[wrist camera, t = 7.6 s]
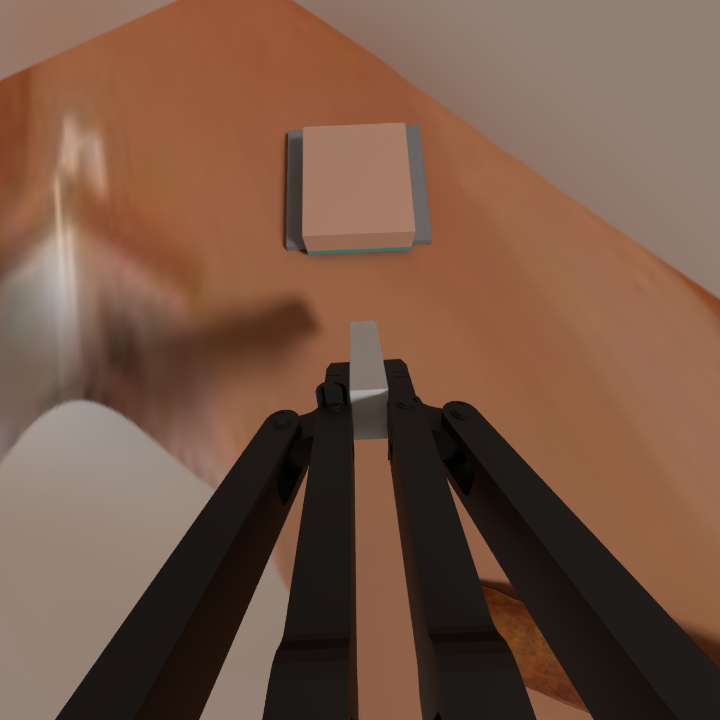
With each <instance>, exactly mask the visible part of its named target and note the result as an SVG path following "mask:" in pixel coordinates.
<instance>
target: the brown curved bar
mask: <svg viewBox="0 0 720 720" xmlns="http://www.w3.org/2000/svg"><path fill="white" fill-rule="evenodd" d="M481 587H482V590H483V593H484V596H485V599H486V602H487V605H488V608H489V611H490V614H491V617H492V620H493V623H494V625H495V627H496V629H497V631H498V632H499V633H500V634H501V635H502V637H503V638H504V639H505V640H506V641H507V643H508V645H509V647H510V649H511V651H512V653H513V655H514V658H515V660H516V663H517V665H518V668H519V670H520V673H521V676H522V679H523V682H524V685H525V687H528V688H530V689H532V690H535V691H538V692H540V693H542V694H545V695H547V696H549V697H551V698H553V699H555V700H558V701H560V702H562V703H564V704H567V705H570V706H572V707H575V708H578V709H581V710H583V711H585V712H588V713H590V712H589V711H588V709H587V708H586V706H585V704H584V703H583V701H582V699H581V698H580V696H579V694H578V693H577V691H576V689H575V688H574V686H573V685H572V683H571V681H570V680H569V678H568V676H567V675H566V673H565V671H564V670H563V668H562V666H561V665H560V663H559V662H558V660H557V658H556V657H555V655H554V653H553V652H552V650H551V648H550V647H549V645H548V643H547V642H546V640H545V638H544V637H543V635H542V634H541V632H540V630H539V629H538V627H537V625H536V624H535V622H534V620H533V619H532V617H531V615H530V614H529V612H528V611H527V609H526V607H525V606H524V604H523V602H522V601H519V600H515V599H513V598H511V597H509V596H507V595H504V594H502V593H500V592H498V591H496V590H494V589H491V588H487V587H484V586H481Z"/></svg>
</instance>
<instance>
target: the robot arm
mask: <svg viewBox="0 0 720 720" xmlns="http://www.w3.org/2000/svg"><path fill="white" fill-rule="evenodd" d="M316 397H317V403H318V408H317V409H316V410H314V411H312V412H310V413H307V414H304V415H301V416H298V414H297V413H296V412H295V411H291V410H281V411H277V412H275V413H273V414H271V415H270V416H269V417H268V418H267V419H266V420H265V422H264V423H263V424H262V426H261V427H260V429H259V430H258V432H257V433H256V434H255V436H254V437H253V439H252V440H251V442H250V443H249V444H248V446H247V447H246V449H245V450H244V452H243V453H242V454H241V456H240V457H239V459H238V460H237V461H236V463H235V464H234V466H233V467H232V469H231V470H230V471H229V473H228V474H227V476H226V477H225V479H224V480H223V481H222V483H221V484H220V486H219V487H218V489H217V490H216V491H215V493H214V494H213V496H212V497H211V499H210V500H209V501H208V503H207V504H206V506H205V507H204V509H203V510H202V511H201V513H200V514H199V516H198V517H197V518H196V520H195V521H194V523H193V524H192V526H191V527H190V528H189V530H188V531H187V533H186V534H185V536H184V537H183V538H182V540H181V541H180V543H179V544H178V545H177V547H176V548H175V550H174V551H173V553H172V554H171V556H170V557H169V558H168V560H167V561H166V563H165V564H164V565H163V567H162V568H161V570H160V571H159V573H158V574H157V575H156V577H155V578H154V580H153V581H152V582H151V584H150V585H149V587H148V588H147V590H146V591H145V592H144V594H143V595H142V597H141V598H140V600H139V601H138V603H137V604H136V605H135V607H134V608H133V610H132V611H131V613H130V614H129V615H128V617H127V618H126V619H125V621H124V622H123V624H122V625H121V627H120V628H119V629H118V631H117V632H116V634H115V635H114V637H113V638H112V639H111V641H110V642H109V644H108V645H107V647H106V648H105V649H104V651H103V652H102V654H101V655H100V657H99V658H98V659H97V661H96V662H95V664H94V665H93V666H92V668H91V669H90V671H89V672H88V674H87V675H86V676H85V678H84V679H83V681H82V682H81V684H80V685H79V687H78V688H77V689H76V691H75V692H74V694H73V695H72V696H71V698H70V699H69V701H68V702H67V703H66V705H65V706H64V708H63V709H62V711H61V712H60V714H59V715H58V716H57V718H56V719H55V720H199V719H200V716H201V714H202V712H203V709H204V707H205V705H206V703H207V700H208V698H209V696H210V693H211V691H212V689H213V686H214V684H215V682H216V679H217V677H218V675H219V673H220V670H221V668H222V666H223V663H224V661H225V659H226V656H227V654H228V652H229V649H230V647H231V645H232V642H233V640H234V638H235V635H236V633H237V631H238V629H239V626H240V624H241V622H242V619H243V617H244V615H245V613H246V610H247V608H248V605H249V603H250V601H251V599H252V596H253V594H254V592H255V589H256V587H257V585H258V583H259V580H260V578H261V576H262V573H263V571H264V569H265V566H266V564H267V562H268V560H269V557H270V555H271V553H272V550H273V548H274V546H275V543H276V541H277V539H278V536H279V534H280V532H281V530H282V527H283V525H284V523H285V520H286V518H287V516H288V513H289V511H290V509H291V506H292V504H293V502H294V500H295V497H296V495H297V493H298V490H299V488H300V486H301V483H302V481H303V479H304V476H305V474H306V472H307V470H308V466H309V470H308V477H307V484H306V490H305V497H304V503H303V510H302V517H301V523H300V530H299V537H298V543H297V550H296V556H295V563H294V570H293V576H292V583H291V589H290V596H289V603H288V609H287V616H286V622H285V628H284V634H283V638H282V641H281V643H280V645H279V647H278V649H277V651H276V653H275V657H274V660H273V663H272V668H271V673H270V678H269V683H268V689H267V695H266V701H265V707H264V714H263V719H262V720H359V718H358V683H357V636H356V553H355V469H354V440H361V439H383V438H387V434H388V460H390V465H391V472H392V480H393V487H394V495H395V502H396V509H397V517H398V524H399V531H400V539H401V546H402V554H403V561H404V568H405V576H406V583H407V590H408V598H409V605H410V612H411V620H412V627H413V635H414V642H415V649H416V657H417V665H418V678H419V693H420V703H421V711H422V719H423V720H536V717H535V714H534V711H533V708H532V705H531V702H530V699H529V697H528V694H527V691H526V688H525V685H524V682H523V679H522V676H521V673H520V670H519V668H518V665H517V663H516V660H515V658H514V655H513V653H512V651H511V649H510V647H509V645H508V643H507V641H506V640H505V639H504V638H503V637H502V635H501V634H500V633H499V632H498V631H497V629H496V627H495V625H494V623H493V620H492V617H491V614H490V611H489V608H488V605H487V602H486V599H485V596H484V593H483V590H482V587H481V583H480V580H479V577H478V574H477V571H476V568H475V565H474V562H473V559H472V556H471V552H470V549H469V546H468V543H467V540H466V537H465V534H464V531H463V528H462V525H461V521H460V518H459V515H458V512H457V509H456V506H455V503H454V500H453V497H452V494H451V491H450V487H449V484H448V481H449V482H450V484H451V486H452V487H453V489H454V490H455V492H456V494H457V495H458V497H459V499H460V500H461V502H462V504H463V505H464V507H465V509H466V510H467V512H468V513H469V515H470V517H471V518H472V520H473V522H474V523H475V525H476V527H477V528H478V530H479V532H480V533H481V535H482V537H483V538H484V540H485V541H486V543H487V545H488V546H489V548H490V550H491V551H492V553H493V555H494V556H495V558H496V560H497V561H498V563H499V564H500V566H501V568H502V569H503V571H504V573H505V574H506V576H507V578H508V579H509V581H510V583H511V584H512V586H513V587H514V589H515V591H516V592H517V594H518V596H519V597H520V599H521V601H522V602H523V604H524V606H525V607H526V609H527V611H528V612H529V614H530V615H531V617H532V619H533V620H534V622H535V624H536V625H537V627H538V629H539V630H540V632H541V634H542V635H543V637H544V638H545V640H546V642H547V643H548V645H549V647H550V648H551V650H552V652H553V653H554V655H555V657H556V658H557V660H558V662H559V663H560V665H561V666H562V668H563V670H564V671H565V673H566V675H567V676H568V678H569V680H570V681H571V683H572V685H573V686H574V688H575V689H576V691H577V693H578V694H579V696H580V698H581V699H582V701H583V703H584V704H585V706H586V708H587V709H588V711H589V712H590V714H591V716H592V717H593V719H594V720H720V669H719V668H718V667H717V666H716V665H715V664H714V663H713V662H712V660H711V659H710V658H709V657H708V656H707V655H706V654H705V653H704V652H703V651H702V650H701V649H700V648H699V647H698V646H697V644H696V643H695V642H694V641H693V640H692V639H691V638H690V637H689V636H688V635H687V634H686V633H685V632H684V631H683V629H682V628H681V627H680V626H679V625H678V624H677V623H676V622H675V621H674V620H673V619H672V618H671V617H670V616H669V615H668V613H667V612H666V611H665V610H664V609H663V608H662V607H661V606H660V605H659V604H658V603H657V602H656V601H655V600H654V599H653V597H652V596H651V595H650V594H649V593H648V592H647V591H646V590H645V589H644V588H643V587H642V586H641V585H640V584H639V582H638V581H637V580H636V579H635V578H634V577H633V576H632V575H631V574H630V573H629V572H628V571H627V570H626V569H625V568H624V566H623V565H622V564H621V563H620V562H619V561H618V560H617V559H616V558H615V557H614V556H613V555H612V554H611V553H610V552H609V550H608V549H607V548H606V547H605V546H604V545H603V544H602V543H601V542H600V541H599V540H598V539H597V538H596V537H595V535H594V534H593V533H592V532H591V531H590V530H589V529H588V528H587V527H586V526H585V525H584V524H583V523H582V522H581V521H580V519H579V518H578V517H577V516H576V515H575V514H574V513H573V512H572V511H571V510H570V509H569V508H568V507H567V506H566V505H565V503H564V502H563V501H562V500H561V499H560V498H559V497H558V496H557V495H556V494H555V493H554V492H553V491H552V490H551V488H550V487H549V486H548V485H547V484H546V483H545V482H544V481H543V480H542V479H541V478H540V477H539V476H538V475H537V474H536V472H535V471H534V470H533V469H532V468H531V467H530V466H529V465H528V464H527V463H526V462H525V461H524V460H523V459H522V458H521V456H520V455H519V454H518V453H517V452H516V451H515V450H514V449H513V448H512V447H511V446H510V445H509V444H508V443H507V441H506V440H505V439H504V438H503V437H502V436H501V435H500V434H499V433H498V432H497V431H496V430H495V429H494V428H493V427H492V425H491V424H490V423H489V422H488V421H487V420H486V419H485V418H484V417H483V416H482V415H481V414H480V413H479V412H478V411H477V409H476V408H474V407H473V406H472V405H470V404H468V403H465V402H461V401H451V402H448V403H446V404H445V405H444V406H443V409H442V408H436V407H431V406H428V405H426V404H423V403H422V401H421V400H420V398H419V397H417V396H416V394H415V391H414V388H413V385H412V381H411V378H410V375H409V372H408V368H407V365H406V364H405V363H404V362H403V361H402V360H401V359H391V360H383V357H382V352H381V346H380V341H379V335H378V329H377V324H376V320H373V321H352V322H350V362H343V363H331V364H330V365H329V367H328V368H327V370H326V377H325V382H323V383H321V384H320V385H319V386H318V387H317V389H316ZM446 477H447V478H446ZM447 479H448V481H447Z"/></svg>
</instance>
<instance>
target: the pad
mask: <svg viewBox="0 0 720 720" xmlns="http://www.w3.org/2000/svg"><path fill="white" fill-rule="evenodd" d="M405 127H406V137H407V148H408V158H409V168H410V179H411V189H412V200H413V210H414V221H415V235H414V239H413V243H412V245H420V244H431V242H432V234H431V225H430V217H429V208H428V199H427V190H426V182H425V173H424V164H423V155H422V147H421V138H420V129H419V125H405ZM302 211H303V130H298V131H288V173H287V227H286V247H287V250H288V251H289V250H307V249H306V246H305V243H304V240H303V237H302Z"/></svg>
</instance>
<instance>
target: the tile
mask: <svg viewBox="0 0 720 720" xmlns="http://www.w3.org/2000/svg"><path fill="white" fill-rule="evenodd" d="M414 235H415V221H414V210H413V200H412V189H411V179H410V168H409V158H408V148H407V137H406V127H405V123H385V124H362V125H339V126H316V127H303V211H302V237H303V240H304V243H305V246H306V249H307V252H308V255H314V254H337V253H361V252H385V251H409V250H411V246H412V243H413V239H414Z"/></svg>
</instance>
